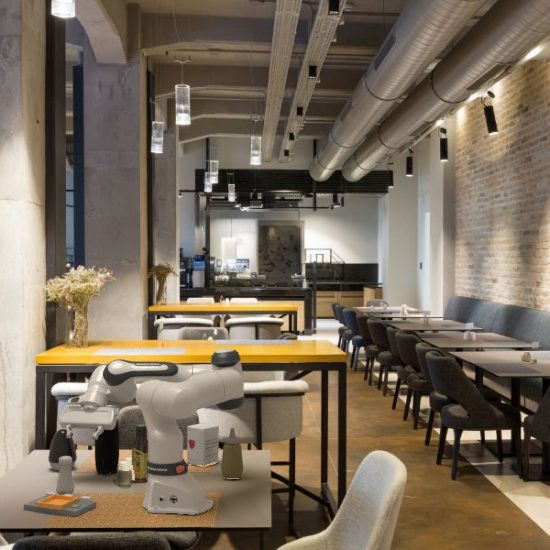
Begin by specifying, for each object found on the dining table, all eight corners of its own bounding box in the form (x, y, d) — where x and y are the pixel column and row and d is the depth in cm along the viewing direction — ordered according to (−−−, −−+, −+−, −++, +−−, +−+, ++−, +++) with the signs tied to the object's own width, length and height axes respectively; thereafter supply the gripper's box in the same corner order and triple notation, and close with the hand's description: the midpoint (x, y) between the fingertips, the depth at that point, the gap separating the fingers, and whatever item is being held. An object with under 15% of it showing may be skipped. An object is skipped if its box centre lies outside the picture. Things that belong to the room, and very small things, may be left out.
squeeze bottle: (216, 478, 275) (216, 428, 275) (233, 474, 280) (234, 425, 280) (230, 482, 269) (230, 431, 269) (247, 478, 274) (248, 428, 274)
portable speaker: (104, 468, 287) (105, 416, 287) (124, 471, 282) (124, 419, 283) (89, 473, 279) (89, 420, 279) (108, 477, 275) (109, 422, 275)
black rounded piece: (81, 467, 289) (82, 427, 289) (67, 473, 279) (68, 432, 279) (57, 465, 292) (58, 425, 292) (43, 471, 281) (43, 430, 282)
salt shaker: (69, 499, 247) (69, 459, 247) (52, 498, 248) (53, 458, 248) (77, 494, 253) (77, 455, 253) (61, 493, 254) (61, 454, 254)
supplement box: (186, 464, 294) (186, 425, 294) (201, 460, 301) (201, 422, 301) (203, 468, 289) (204, 428, 289) (219, 463, 296) (219, 425, 296)
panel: (96, 506, 239) (96, 497, 239) (75, 517, 229) (75, 507, 229) (46, 500, 246) (46, 490, 246) (23, 510, 235) (23, 500, 235)
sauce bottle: (127, 480, 271) (128, 424, 271) (143, 477, 275) (143, 422, 275) (137, 484, 266) (137, 427, 266) (152, 481, 270) (153, 425, 270)
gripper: (123, 411, 273) (112, 444, 263) (70, 408, 276) (57, 441, 267) (118, 400, 268) (107, 433, 259) (64, 398, 272) (51, 431, 262)
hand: (81, 437), depth 263 cm, fingers open, 8 cm apart
